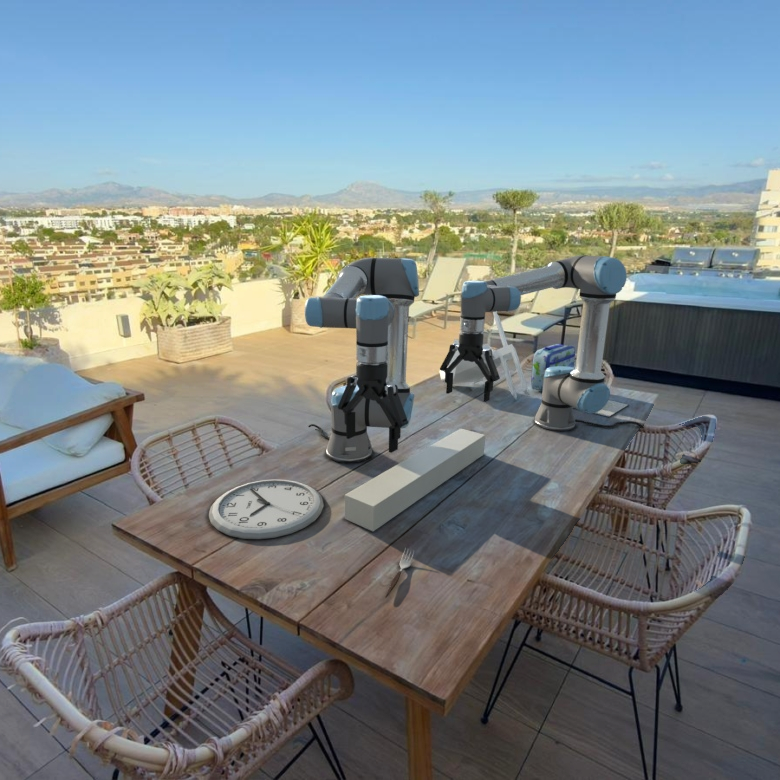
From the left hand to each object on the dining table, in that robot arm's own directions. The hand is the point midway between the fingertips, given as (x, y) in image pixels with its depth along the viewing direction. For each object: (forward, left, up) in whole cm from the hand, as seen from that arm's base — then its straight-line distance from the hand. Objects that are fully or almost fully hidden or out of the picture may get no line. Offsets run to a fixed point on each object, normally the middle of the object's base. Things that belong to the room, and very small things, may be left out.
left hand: (371, 443), depth 131 cm
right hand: (-15, +47, 0) cm, 50 cm away
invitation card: (-20, +132, -21) cm, 136 cm away
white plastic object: (-64, +102, -21) cm, 122 cm away
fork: (+24, -9, -21) cm, 33 cm away
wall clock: (-19, -21, -21) cm, 35 cm away
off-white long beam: (-8, +24, -21) cm, 33 cm away
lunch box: (-49, +136, -21) cm, 146 cm away
